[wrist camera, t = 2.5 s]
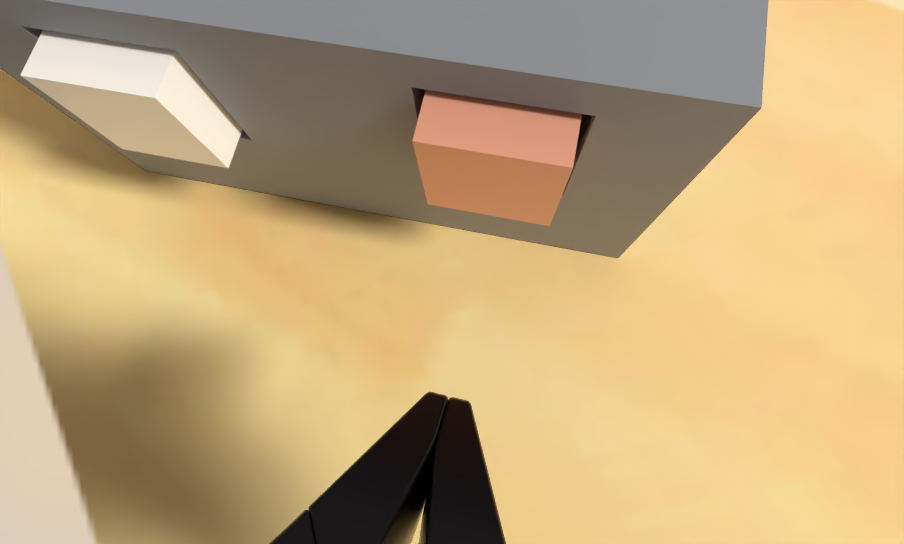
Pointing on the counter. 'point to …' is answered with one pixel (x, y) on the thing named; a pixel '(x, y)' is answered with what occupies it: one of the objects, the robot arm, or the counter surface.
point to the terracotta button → (494, 155)
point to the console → (451, 71)
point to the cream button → (135, 96)
